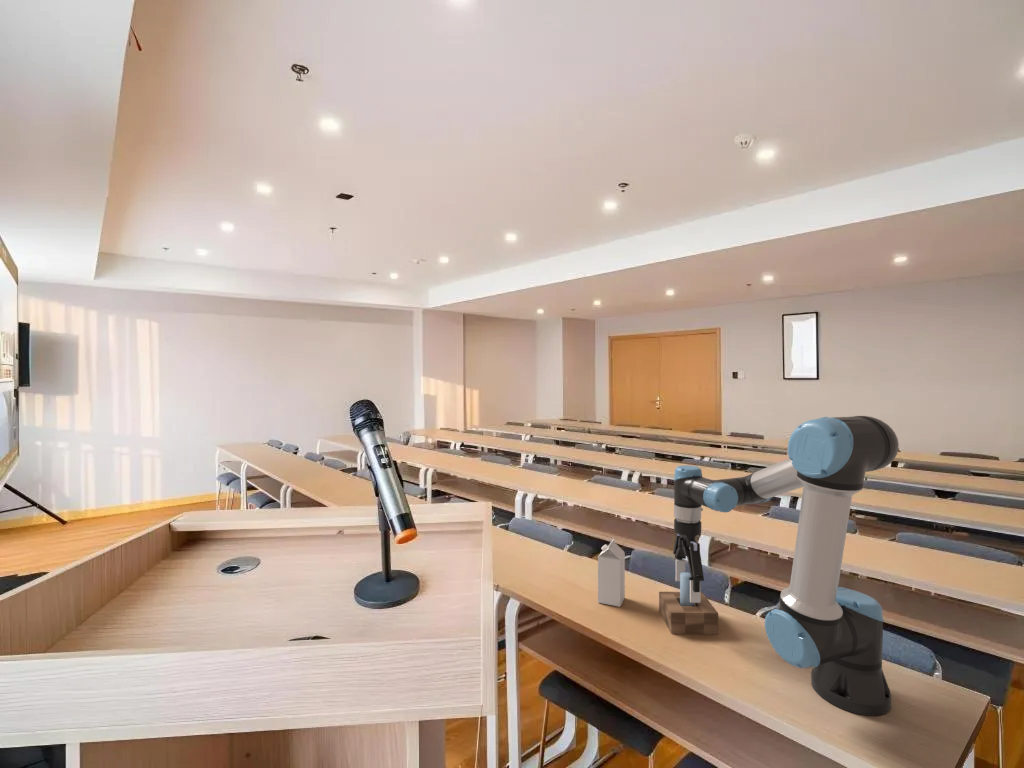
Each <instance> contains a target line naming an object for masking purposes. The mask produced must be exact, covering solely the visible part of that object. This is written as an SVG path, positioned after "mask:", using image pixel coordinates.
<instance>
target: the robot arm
mask: <svg viewBox="0 0 1024 768" xmlns="http://www.w3.org/2000/svg"><path fill="white" fill-rule="evenodd" d="M899 444H900V443H899V439H898V437H897V434H896V432H895V431H894V430H893V428H892V427H891V426H890V425H888V423H886V422H884V421H883V420H881V419H879V418H876V417H873V416H868V415H854V416H836V417H834V416H833V417H828V416H824V417H819V418H814V419H810V420H807V421H804V422H803V423H801V424H800V425H797V426H796V428H795V429H794V430H793V431H792V433H791V434H790V437H789V440H788V442H787V456H788V458H786V459H784V460H781V461H779V462H777V463H774V464H771V465H769V466H767V467H765V468H762V469H760V470H757V471H755V472H753V473H750V474H748V475H744V476H741V477H740V476H739V477H731V478H722V479H711V478H706V477H704V476H703V472H702V469H701V467H699V466H696V465H677V466H676V467H675V469H674V476H673V477H674V478H673V497H674V498H673V499H674V500H673V501H674V503H673V517H674V520H673V530H674V532H675V533H676V534H675V540H674V545H673V552H672V553H673V555H674V559H675V582H680V573H682V572H686V559H687V564H688V569H689V573H690V574H691V577H690V578H689V580H690V602H691V603H701V592H702V590H701V582H704V580H705V577H704V570H703V564H702V557H701V545H700V542H697V540H696V537H697V536H700V535H701V534H702V521H701V520H702V512H703V511H704V508H703V507H705V508H709V509H710V510H712V511H715V512H720V513H730V512H731V511H732V510H734V509H735V508H736V506H737V507H738V506H744V505H753V504H755V505H756V504H762V503H765V502H766V503H767V502H769V501H770V500H771V499H772V498H773V497H777V496H779V495H783V494H787V493H789V492H792V491H795V490H797V489H798V490H799V489H801V488H802V493H801V494H802V496H801V503H800V509H799V516H798V524H797V525H798V526H797V532H796V537H795V538H796V539H795V546H794V547H795V548H794V553H793V560H792V561H793V562H792V567H791V568H792V569H791V576H790V581H789V586H788V587H785V588H783V589H782V590H781V592H780V596H779V601H778V603H779V604H778V608H773V609H771V611H769V612H768V613H767V614H766V616H765V619H764V629H765V633H766V635H767V639H768V641H769V642H770V645H771V646H772V648H773V649H774V651H775V652H776V653H777V655H778V656H779V657H780V658H782V660H783V661H785V663H787V664H789V665H791V666H793V667H794V668H797V669H807V668H812V669H811V673H810V674H811V676H810V682H811V683H810V684H811V686H812V688H813V691H815V692H816V693H817V695H819V696H820V698H822V699H824V700H825V701H826V702H828V703H829V704H832V705H833V706H836V707H838V708H840V709H842V710H845V711H847V712H850V713H854V714H859V715H862V716H872V717H873V716H881V715H886V714H887V713H889V712H890V711H891V709H892V693H891V691H890V688H889V684H888V682H887V680H886V676H885V673H884V671H883V670H884V669H883V639H884V638H883V635H884V633H883V630H884V621H885V619H884V616H883V607H882V604H880V602H878V601H877V599H875V598H873V597H872V596H869V595H868V594H865V593H864V592H861V591H857V590H854V589H851V588H846V587H843V586H839V584H840V578H841V577H840V576H841V572H842V571H841V570H842V563H843V559H844V558H843V556H844V551H845V543H846V539H847V538H846V537H847V531H848V524H849V518H850V512H851V506H852V500H853V499H852V498H853V496H854V495H855V494H858V493H859V492H861V491H862V490H863V488H864V481H865V475H866V472H873V471H877V470H881V469H884V468H886V467H887V466H889V465H890V464H892V462H894V460H895V458H896V457H897V455H898V451H899V446H900V445H899ZM702 506H703V507H702Z"/></svg>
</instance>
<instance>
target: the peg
mask: <svg viewBox="0 0 1024 768" xmlns="http://www.w3.org/2000/svg"><path fill="white" fill-rule="evenodd" d="M690 577H691V574H690V571H689V572H688V571H687V572H686V571H685V572H682V573H680V581H679V592H680V605H681V606H694V603H691V602H690V580H689V578H690Z"/></svg>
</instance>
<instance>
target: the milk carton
mask: <svg viewBox="0 0 1024 768" xmlns="http://www.w3.org/2000/svg"><path fill="white" fill-rule="evenodd" d="M601 550H602V551H601V552H600V554H599V555H598V556H597V603H598V604H604V605H609V606H613V607H618V608H619V607H621V606H622V604H623V602H624V600H625V597H626V595H625V594H626V590H625V589H626V583H625V582H626V579H625V578H626V575H625V574H626V571H625V569H626V564H625V563H626V562H625V561H626V559H625V558H626V555H625V551H624V550H623V549H622V548H621V547H620V546H619V545H618V544H616V542H615V538H613V539H612V540H611V541H610V543H609V544H604V545H602V547H601Z"/></svg>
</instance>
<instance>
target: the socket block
mask: <svg viewBox="0 0 1024 768" xmlns="http://www.w3.org/2000/svg"><path fill="white" fill-rule="evenodd" d="M658 594H659V596H658V602H659V603H658V612H659V613H660V615H661V617H662V619H663V621H664V623H665V625H666V627H667V628H668V631H669V632H670V634H672V635H674V634H676V635H681V634H682V635H683V634H684V635H719V613H718V610H717V609H716V608H715V606H713V604H712V603H711V602H710V600H709V599H708V598H707V597H706V596H705V594H704V593H703V591H701V603H694V606H681V605H680V591H659V592H658Z"/></svg>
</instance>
